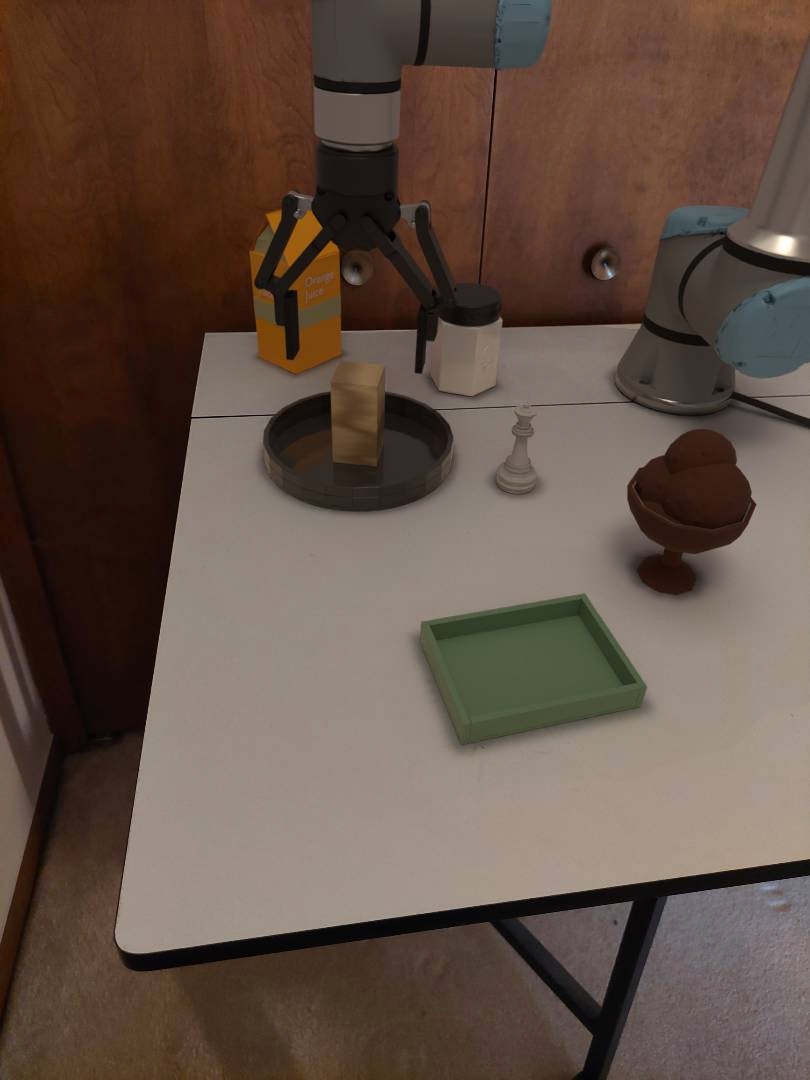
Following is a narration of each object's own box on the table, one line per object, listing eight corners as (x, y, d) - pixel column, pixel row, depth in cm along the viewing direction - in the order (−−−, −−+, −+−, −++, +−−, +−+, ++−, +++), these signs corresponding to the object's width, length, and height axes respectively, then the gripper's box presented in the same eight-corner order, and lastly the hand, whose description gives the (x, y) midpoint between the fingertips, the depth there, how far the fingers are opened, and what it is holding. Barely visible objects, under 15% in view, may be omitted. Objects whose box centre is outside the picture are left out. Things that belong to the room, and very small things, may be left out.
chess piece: (509, 498, 86) (521, 416, 80) (488, 477, 89) (497, 397, 83) (543, 488, 88) (556, 407, 82) (520, 468, 91) (532, 389, 85)
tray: (580, 612, 72) (585, 593, 71) (641, 706, 64) (647, 686, 63) (419, 641, 69) (420, 621, 67) (461, 745, 61) (463, 724, 59)
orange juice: (342, 354, 112) (339, 205, 100) (295, 374, 107) (286, 220, 95) (304, 337, 116) (296, 192, 104) (257, 356, 111) (243, 206, 99)
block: (384, 443, 93) (385, 364, 87) (376, 466, 89) (377, 385, 83) (341, 439, 94) (340, 360, 87) (332, 462, 90) (330, 381, 84)
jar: (462, 403, 102) (469, 313, 95) (417, 380, 107) (421, 293, 99) (507, 382, 107) (518, 295, 100) (463, 361, 112) (470, 276, 104)
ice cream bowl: (586, 555, 79) (616, 422, 70) (677, 530, 83) (717, 401, 73) (653, 626, 71) (696, 487, 62) (750, 595, 75) (804, 460, 66)
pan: (459, 420, 99) (461, 398, 97) (440, 521, 82) (442, 498, 81) (292, 403, 101) (291, 381, 99) (240, 499, 85) (238, 475, 83)
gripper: (499, 142, 73) (476, 357, 86) (234, 121, 75) (251, 334, 88) (494, 162, 67) (470, 390, 80) (207, 139, 69) (230, 364, 83)
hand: (356, 361), depth 84 cm, fingers open, 13 cm apart
